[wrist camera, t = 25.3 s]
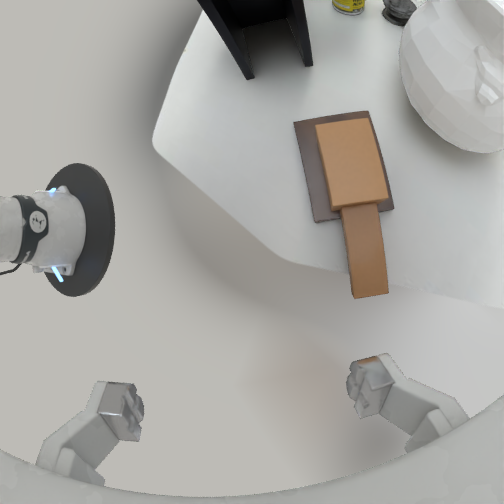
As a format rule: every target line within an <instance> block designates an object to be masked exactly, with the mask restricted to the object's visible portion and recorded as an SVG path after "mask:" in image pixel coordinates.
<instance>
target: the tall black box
mask: <svg viewBox="0 0 504 504" xmlns="http://www.w3.org/2000/svg"><path fill="white" fill-rule="evenodd" d="M197 1H198V2H199V4H200V5H201V7H202V8H203V10H204V11H205V13H206V14H207V16H208V17H209V19H210V20H211V22H212V23H213V25H214V26H215V28H216V30H217V31H218V33H219V34H220V36H221V38H222V39H223V41H224V42H225V44H226V46H227V47H228V49H229V51H230V52H231V54H232V56H233V57H234V59H235V61H236V62H237V64H238V66H239V68H240V69H241V71H242V73H243V74H244V76H245V78H246V80H249V79H252V78H254V74H253V70H252V66H251V62H250V58H249V54H248V49H247V45H246V42H245V38H244V34H243V30H242V29H244V28H247V27H251V26H255V25H259V24H263V23H267V22H272V21H276V20H281V19H286V18H287V20H288V23H289V25H290V28H291V30H292V33H293V35H294V38H295V40H296V43H297V45H298V48H299V51H300V53H301V56H302V59H303V62H304V65H305V67H307V66H313V60H312V52H311V45H310V39H309V32H308V26H307V20H306V14H305V9H304V3H303V0H197Z"/></svg>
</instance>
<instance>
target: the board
mask: <svg viewBox="0 0 504 504" xmlns="http://www.w3.org/2000/svg"><path fill="white" fill-rule="evenodd" d="M362 118H368V119H369V122H370V125H371V129H372V132H373V135H374V139H375V142H376V146H377V150H378V153H379V157H380V161H381V165H382V169H383V174H384V178H385V182H386V187H387V192H388V197H389V198H388V199H386V200H385V201H383V202H381V203H380V204H377V208H378V212H382V211H388V210H392V209H394V205H393V200H392V195H391V190H390V186H389V181H388V177H387V173H386V169H385V165H384V161H383V157H382V154H381V150H380V147H379V143H378V140H377V136H376V133H375V130H374V127H373V124H372V121H371V118H370V115H369V112H368V111H360V112H352V113H344V114H338V115H331V116H325V117H319V118H313V119H308V120H303V121H298V122H293V123H294V128H295V132H296V136H297V140H298V144H299V148H300V153H301V157H302V162H303V166H304V171H305V176H306V180H307V185H308V190H309V195H310V200H311V205H312V211H313V216H314V221H315V223H316V222H321V221H327V220H333V219H339V218H341V214H340V210H336V211H331V206H330V200H329V195H328V190H327V185H326V180H325V175H324V170H323V166H322V161H321V157H320V152H319V148H318V144H317V138H316V129H315V125H319V124H325V123H332V122H339V121H346V120H354V119H362Z"/></svg>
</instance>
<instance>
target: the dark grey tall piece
mask: <svg viewBox="0 0 504 504" xmlns="http://www.w3.org/2000/svg"><path fill="white" fill-rule="evenodd" d="M383 2H384V5H385V7H386V8H385V9H383V16H384V17H385V18H386V19H387V20H388V21H390V22H391V23H393V24H395V25H399V26H405V25H406V24H407V22H408V20H409V19H410V17H411V15H412V14H413V13H414V12H415V11H416V9H417V7H416V6H415V4H414V3H413V2H412V1H411V0H383Z"/></svg>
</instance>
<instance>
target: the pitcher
mask: <svg viewBox="0 0 504 504" xmlns="http://www.w3.org/2000/svg"><path fill="white" fill-rule="evenodd" d="M399 61H400V71H401V76H402V81H403V85H404V87H405V90H406V92H407V95H408V97H409V100H410V103H411V105H412V106H413V107H414V109H415V110H416V111H417V112H418V114H419V115H420V116H421V118H422V119H423V120H424V122H425V123H426V124H427V125H428V126H429V127H430V128H431V129H432V130H434V131H435V132H436V133H437V134H438V135H439V136H440V137H441V138H443V139H444V140H446V141H448V142H449V143H451V144H453V145H455V146H457V147H459V148H460V149H462V150H468V151H473V152H478V153H492V152H496V151H501V150H504V0H427V1H426V2H425V3H424V4H422V5H421V6H420V7H419V8H417V9H416V11H415V12H414V13H413V14H412V15H411V17H410V19H409V20H408V22H407V24H406V25H405V27H404V30H403V33H402V37H401V42H400V48H399Z"/></svg>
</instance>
